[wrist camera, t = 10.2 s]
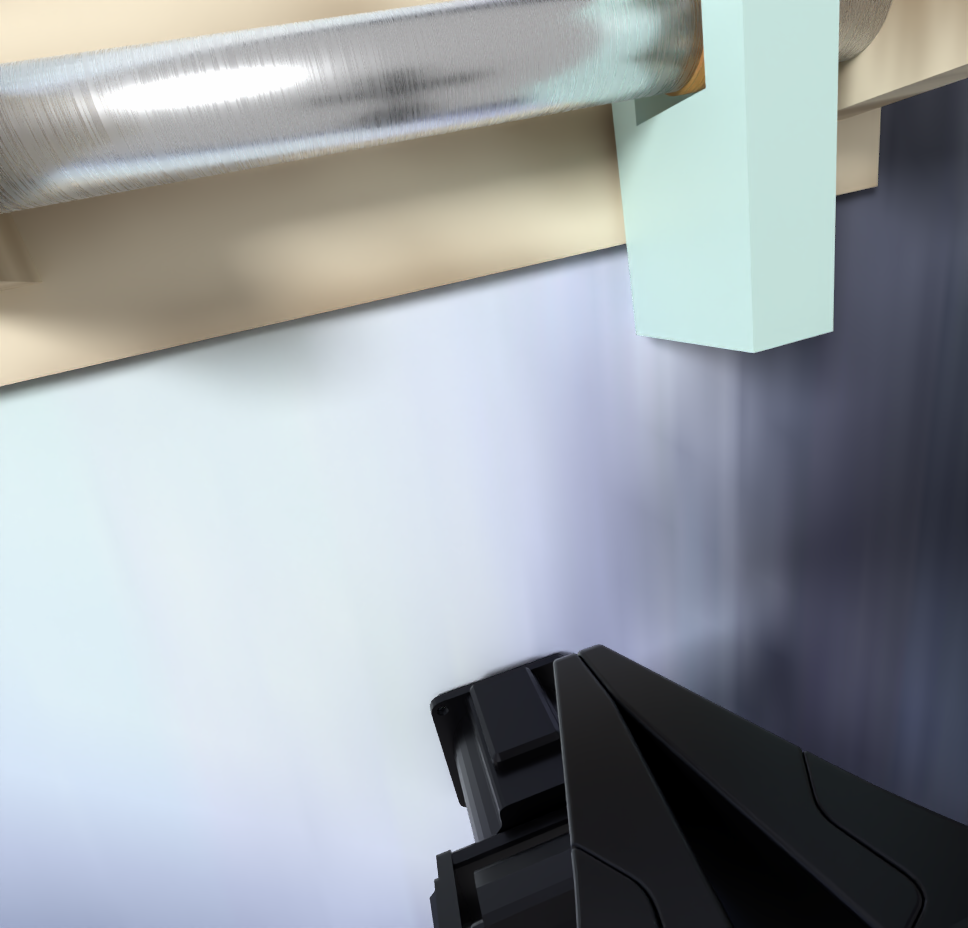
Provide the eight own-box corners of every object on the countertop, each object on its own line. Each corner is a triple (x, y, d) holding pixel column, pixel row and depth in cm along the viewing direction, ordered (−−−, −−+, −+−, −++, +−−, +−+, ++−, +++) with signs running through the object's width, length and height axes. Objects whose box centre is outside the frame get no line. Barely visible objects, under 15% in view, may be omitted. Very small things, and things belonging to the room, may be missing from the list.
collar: (695, 319, 21) (833, 330, 15) (636, 335, 20) (753, 353, 14) (670, -58, 17) (844, -239, 11) (595, -48, 16) (734, -231, 10)
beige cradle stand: (859, 189, 22) (1112, 141, 15) (-83, 404, 16) (-414, 494, 9) (870, -132, 18) (1208, -400, 11) (-322, 2, 13) (-1150, -357, 6)
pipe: (890, 65, 18) (985, 26, 15) (-163, 260, 13) (-290, 253, 10) (895, -41, 17) (997, -102, 14) (-243, 126, 12) (-405, 80, 9)
